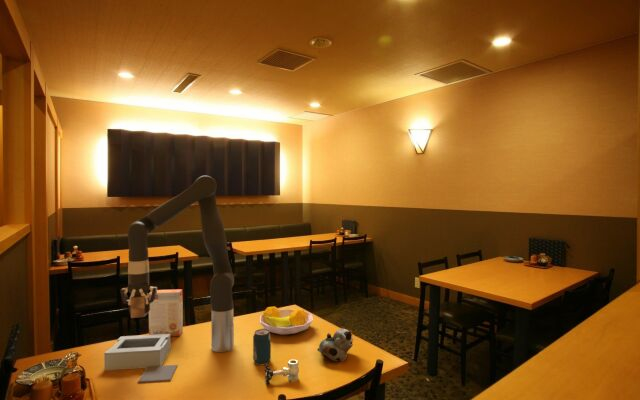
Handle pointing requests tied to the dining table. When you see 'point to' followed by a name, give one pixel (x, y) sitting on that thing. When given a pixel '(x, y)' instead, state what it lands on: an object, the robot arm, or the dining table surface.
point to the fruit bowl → (285, 320)
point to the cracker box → (166, 313)
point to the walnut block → (138, 307)
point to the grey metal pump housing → (337, 345)
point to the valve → (284, 372)
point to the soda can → (261, 346)
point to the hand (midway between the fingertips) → (139, 313)
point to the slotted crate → (137, 352)
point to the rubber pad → (158, 373)
